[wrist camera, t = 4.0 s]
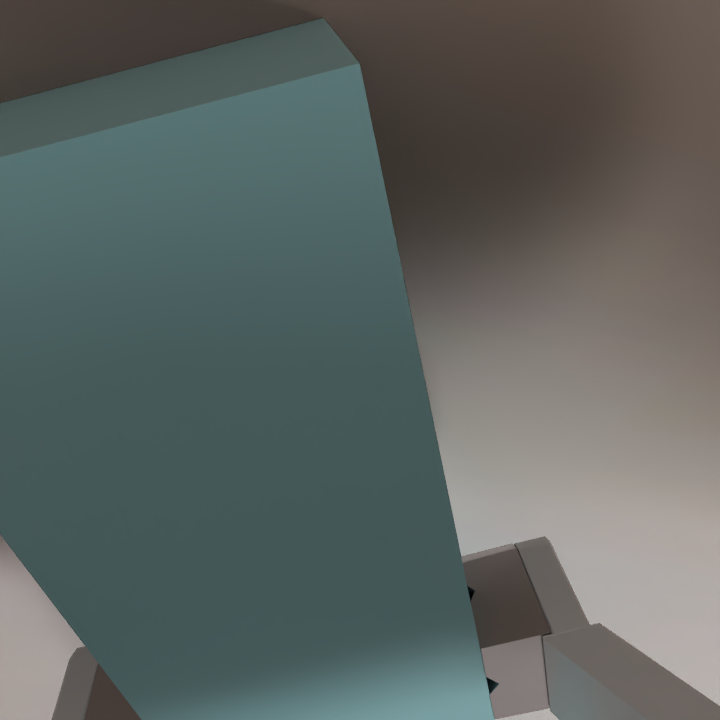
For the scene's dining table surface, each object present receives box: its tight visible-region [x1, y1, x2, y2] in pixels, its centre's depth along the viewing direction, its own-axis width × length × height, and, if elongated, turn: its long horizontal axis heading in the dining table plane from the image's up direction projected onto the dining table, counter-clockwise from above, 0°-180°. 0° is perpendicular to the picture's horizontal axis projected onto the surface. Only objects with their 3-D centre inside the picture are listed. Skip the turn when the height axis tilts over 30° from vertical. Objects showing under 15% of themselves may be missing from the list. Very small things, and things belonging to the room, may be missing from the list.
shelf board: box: [0, 18, 495, 720], centre depth 11 cm, size 16×4×4 cm, turn 13°
